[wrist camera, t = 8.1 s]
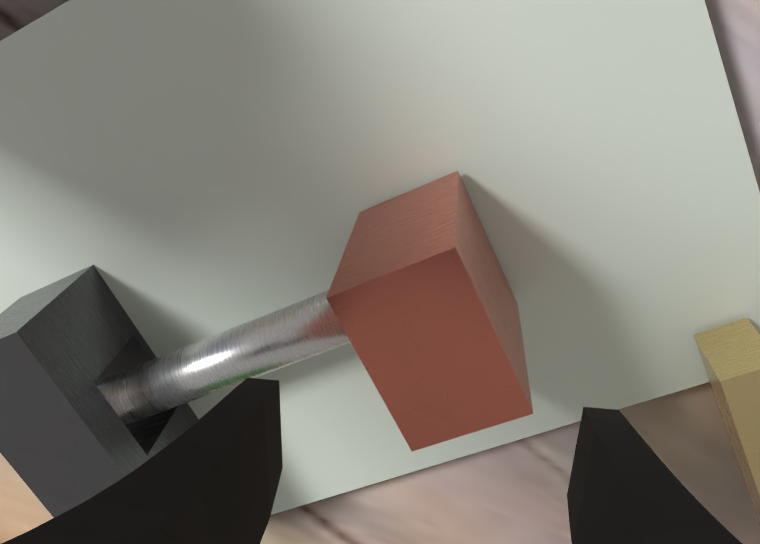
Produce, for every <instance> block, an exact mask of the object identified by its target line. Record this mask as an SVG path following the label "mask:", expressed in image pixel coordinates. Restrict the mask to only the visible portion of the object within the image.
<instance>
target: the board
mask: <svg viewBox="0 0 760 544" xmlns="http://www.w3.org/2000/svg"><path fill="white" fill-rule="evenodd" d="M456 171H458V172H459V174H460V176H461V178H462V181H463V183H464V185H465V187H466V189H467V192H468V194H469V196H470V198H471V201H472V203H473V205H474V207H475V210H476V212H477V214H478V216H479V219H480V221H481V223H482V225H483V227H484V230H485V232H486V234H487V236H488V239H489V241H490V243H491V245H492V248H493V250H494V252H495V254H496V256H497V259H498V261H499V263H500V265H501V268H502V270H503V272H504V274H505V277H506V279H507V281H508V283H509V286H510V288H511V290H512V292H513V294H514V297H515V299H516V301H517V303H518V309H519V316H520V323H521V330H522V337H523V344H524V351H525V358H526V365H527V372H528V379H529V386H530V393H531V400H532V407H533V414H531V415H528V416H524V417H521V418H518V419H515V420H512V421H508V422H505V423H502V424H499V425H496V426H492V427H489V428H486V429H483V430H480V431H476V432H473V433H470V434H467V435H464V436H460V437H457V438H454V439H451V440H448V441H444V442H441V443H438V444H435V445H432V446H428V447H425V448H422V449H419V450H416V451H411V449H410V448H409V446H408V444H407V442H406V440H405V439H404V437H403V435H402V433H401V431H400V430H399V428H398V426H397V424H396V422H395V421H394V419H393V417H392V415H391V413H390V412H389V410H388V408H387V406H386V404H385V403H384V401H383V399H382V397H381V396H380V394H379V392H378V390H377V388H376V387H375V385H374V383H373V381H372V379H371V378H370V376H369V374H368V372H367V370H366V369H365V367H364V365H363V363H362V361H361V360H360V358H359V356H358V354H357V352H356V351H355V349H354V347H353V345H352V343H351V342H350V343H348V344H345V345H342V346H339V347H337V348H334V349H331V350H329V351H326V352H323V353H320V354H318V355H315V356H312V357H310V358H307V359H304V360H301V361H299V362H296V363H293V364H291V365H288V366H285V367H282V368H280V369H277V370H274V371H272V372H269V373H266V374H263V375H261V376H258V377H255V378H257V379H268V380H279V387H280V413H281V438H282V464H283V468H282V472H281V476H280V480H279V484H278V488H277V493H276V496H275V500H274V504H273V508H272V512H271V515H272V514H276V513H279V512H282V511H286V510H289V509H292V508H296V507H299V506H302V505H305V504H309V503H312V502H315V501H319V500H322V499H325V498H329V497H332V496H335V495H338V494H342V493H345V492H348V491H352V490H355V489H358V488H361V487H365V486H368V485H371V484H375V483H378V482H381V481H385V480H388V479H391V478H394V477H398V476H401V475H404V474H408V473H411V472H414V471H418V470H421V469H424V468H427V467H431V466H434V465H437V464H441V463H444V462H447V461H450V460H454V459H457V458H460V457H464V456H467V455H470V454H474V453H477V452H480V451H483V450H487V449H490V448H493V447H497V446H500V445H503V444H506V443H510V442H513V441H516V440H520V439H523V438H526V437H530V436H533V435H536V434H539V433H543V432H546V431H549V430H553V429H556V428H559V427H563V426H566V425H569V424H572V423H576V422H579V421H581V417H582V412H583V407H592V408H603V409H615V410H619V409H622V408H625V407H628V406H632V405H635V404H638V403H642V402H645V401H648V400H652V399H655V398H658V397H661V396H665V395H668V394H671V393H675V392H678V391H681V390H684V389H688V388H691V387H694V386H698V385H701V384H704V383H708V382H710V381H709V378H708V375H707V372H706V369H705V366H704V364H703V361H702V358H701V355H700V352H699V349H698V347H697V344H696V341H695V338H694V335H695V334H698V333H701V332H704V331H707V330H710V329H713V328H716V327H719V326H722V325H726V324H729V323H732V322H735V321H738V320H741V319H744V318H748V320H749V321H750V322H751V324H752V325H753V326H754V328H755V329H756V330H757V332H758V333H759V334H760V191H759V188H758V185H757V181H756V178H755V174H754V171H753V167H752V164H751V160H750V157H749V153H748V150H747V146H746V143H745V139H744V136H743V132H742V129H741V125H740V122H739V118H738V115H737V111H736V108H735V105H734V101H733V98H732V94H731V91H730V87H729V84H728V80H727V77H726V73H725V70H724V66H723V63H722V59H721V56H720V52H719V49H718V45H717V42H716V38H715V35H714V31H713V28H712V25H711V21H710V18H709V14H708V11H707V7H706V4H705V0H69V1H67V2H65V3H64V4H62V5H60V6H59V7H57V8H55V9H53V10H52V11H50V12H48V13H47V14H45V15H43V16H42V17H40V18H38V19H37V20H35V21H33V22H31V23H30V24H28V25H26V26H25V27H23V28H21V29H20V30H18V31H16V32H15V33H13V34H11V35H9V36H8V37H6V38H4V39H3V40H1V41H0V314H1V313H2V312H3V311H4V310H6V309H7V308H8V307H9V306H10V305H12V304H13V303H14V302H15V301H17V300H18V299H19V298H21V297H23V296H25V295H27V294H29V293H32V292H34V291H36V290H38V289H40V288H43V287H45V286H47V285H49V284H51V283H54V282H56V281H58V280H60V279H62V278H65V277H67V276H69V275H71V274H73V273H76V272H78V271H80V270H82V269H85V268H87V267H89V266H91V265H94V266H95V268H96V269H97V271H98V272H99V273H100V275H101V276H102V278H103V279H104V281H105V282H106V284H107V285H108V287H109V288H110V290H111V291H112V293H113V294H114V296H115V297H116V298H117V300H118V301H119V303H120V304H121V306H122V307H123V309H124V310H125V312H126V313H127V315H128V316H129V318H130V319H131V321H132V322H133V323H134V325H135V326H136V328H137V329H138V331H139V332H140V334H141V335H142V337H143V338H144V340H145V341H146V343H147V344H148V346H149V347H150V348H151V350H152V351H153V353H154V354H155V356H156V357H157V358H158V357H160V356H163V355H165V354H168V353H170V352H173V351H175V350H178V349H180V348H183V347H185V346H188V345H190V344H193V343H196V342H198V341H201V340H203V339H206V338H208V337H211V336H213V335H216V334H218V333H221V332H223V331H226V330H228V329H231V328H234V327H236V326H239V325H241V324H244V323H246V322H249V321H251V320H254V319H256V318H259V317H261V316H264V315H266V314H269V313H271V312H274V311H277V310H279V309H282V308H284V307H287V306H289V305H292V304H294V303H297V302H299V301H302V300H304V299H307V298H309V297H312V296H315V295H317V294H320V293H322V292H325V291H327V290H329V289H330V287H331V284H332V281H333V279H334V276H335V274H336V271H337V269H338V266H339V263H340V261H341V258H342V256H343V253H344V251H345V248H346V245H347V243H348V240H349V238H350V235H351V233H352V230H353V228H354V225H355V222H356V220H357V217H358V215H359V212H361V211H364V210H366V209H368V208H371V207H373V206H375V205H378V204H380V203H382V202H385V201H387V200H389V199H392V198H394V197H397V196H399V195H401V194H404V193H406V192H408V191H411V190H413V189H415V188H418V187H420V186H423V185H425V184H427V183H430V182H432V181H434V180H437V179H439V178H441V177H444V176H446V175H449V174H451V173H453V172H456ZM239 384H240V383H239ZM239 384H236V385H234V386H231V387H228V388H225V389H223V390H220V391H217V392H215V393H212V394H209V395H206V396H204V397H201V398H198V399H196V400H193V401H190V402H187V403H188V404H189V406H190V407H191V409H192V410H193V412H194V413H195V415H196V416H197V418H198V419H200V418H201V417H203V416H204V415H205V414H206V413H207V412H208V411H209V410H211V409H212V408H213V407H214V406H215V405H216V404H217V403H219V402H220V401H221V400H222V399H223V398H224V397H225V396H226V395H228V394H229V393H230V392H231V391H232V390H233V389H234V388H236V387H237V386H238V385H239Z"/></svg>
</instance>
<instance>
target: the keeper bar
mask: <svg viewBox="0 0 760 544" xmlns="http://www.w3.org/2000/svg"><path fill="white" fill-rule="evenodd" d="M694 338H695V341H696V344H697V347H698V349H699V352H700V355H701V358H702V361H703V364H704V366H705V369H706V372H707V375H708V378H709V381H710V384H711V386H712V389H713V392H714V395H715V398H716V401H717V403H718V406H719V409H720V412H721V415H722V418H723V421H724V423H725V426H726V429H727V432H728V435H729V438H730V441H731V443H732V446H733V449H734V452H735V455H736V458H737V460H738V463H739V466H740V469H741V472H742V475H743V478H744V480H745V483H746V486H747V489H748V492H749V495H750V497H751V500H752V503H753V506H754V509H755V512H756V515H757V517H758V520H759V523H760V334H759V333H758V332H757V330H756V329H755V328H754V326H753V325H752V324H751V322H750V321H749V320H748V318H744V319H741V320H738V321H735V322H732V323H729V324H726V325H722V326H719V327H716V328H713V329H710V330H707V331H704V332H701V333H698V334H695V335H694Z"/></svg>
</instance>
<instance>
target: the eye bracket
mask: <svg viewBox="0 0 760 544" xmlns="http://www.w3.org/2000/svg"><path fill="white" fill-rule="evenodd" d="M155 358H157V357H156V356H155V354H154V353H153V351H152V350H151V348H150V347H149V346H148V344H147V343H146V341H145V340H144V338H143V337H142V335H141V334H140V332H139V331H138V329H137V328H136V326H135V325H134V323H133V322H132V321H131V319H130V318H129V316H128V315H127V313H126V312H125V310H124V309H123V307H122V306H121V304H120V303H119V301H118V300H117V298H116V297H115V296H114V294H113V293H112V291H111V290H110V288H109V287H108V285H107V284H106V282H105V281H104V279H103V278H102V276H101V275H100V273H99V272H98V271H97V269H96V268H95V266H94V265H91V266H89V267H87V268H85V269H82V270H80V271H78V272H76V273H73V274H71V275H69V276H67V277H65V278H62V279H60V280H58V281H56V282H54V283H51V284H49V285H47V286H45V287H43V288H40V289H38V290H36V291H34V292H32V293H29V294H27V295H25V296H23V297H21V298H19V299H18V300H17V301H15V302H14V303H13V304H12V305H10V306H9V307H8V308H7V309H6V310H4V311H3V312H2V313H1V314H0V453H1V454H2V455H3V456H4V457H5V459H6V460H7V461H8V462H9V464H10V465H11V466H12V467H13V468H14V470H15V471H16V472H17V473H18V474H19V476H20V477H21V478H22V479H23V481H24V482H25V483H26V484H27V485H28V487H29V488H30V489H31V490H32V492H33V493H34V494H35V495H36V496H37V498H38V499H39V500H40V501H41V502H42V504H43V505H44V506H45V507H46V509H47V510H48V511H49V512H50V513H51V515H52V516H53V517H54V518H55V517H57V516H59V515H61V514H62V513H64V512H66V511H68V510H70V509H72V508H74V507H76V506H78V505H79V504H81V503H83V502H85V501H86V500H88V499H90V498H92V497H93V496H95V495H96V494H98V493H100V492H101V491H103V490H105V489H106V488H108V487H109V486H111V485H113V484H114V483H116V482H117V481H119V480H120V479H122V478H123V477H125V476H126V475H128V474H129V473H131V472H132V471H134V470H135V469H137V468H138V467H140V466H141V465H142V464H144V463H145V462H146V461H148V460H149V459H150V458H151V457H153V456H154V455H155V454H157V453H158V452H159V451H161V450H162V449H163V448H165V447H166V446H167V445H169V444H170V443H171V442H173V441H174V440H175V439H176V438H177V437H179V436H180V435H181V434H182V433H183V432H185V431H186V430H187V429H188V428H189V427H191V426H192V425H193V424H194V423H195V422H197V421H198V420H199V419H198V418H197V416H196V415H195V413H194V412H193V410H192V409H191V407H190V406H189V404H188V403H185V404H182V405H179V406H177V407H174V408H171V409H168V410H166V411H163V412H160V413H158V414H155V415H152V416H149V417H147V418H144V419H141V420H139V421H136V422H133V423H130V424H128V425H125V424H124V423H123V422H122V420H121V419H120V417H119V416H118V415H117V413H116V412H115V411H114V409H113V408H112V406H111V405H110V404H109V402H108V401H107V400H106V398H105V397H104V395H103V394H102V393H101V391H100V390H99V389H98V387H97V386H96V384H95V383H94V382H97V381H99V380H102V379H104V378H107V377H109V376H112V375H115V374H117V373H120V372H122V371H125V370H127V369H130V368H132V367H135V366H137V365H140V364H142V363H145V362H147V361H150V360H153V359H155Z"/></svg>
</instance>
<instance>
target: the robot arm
mask: <svg viewBox="0 0 760 544" xmlns="http://www.w3.org/2000/svg"><path fill="white" fill-rule="evenodd" d="M282 468H283V464H282V438H281V413H280V387H279V380H268V379H257V378H246V379H245V380H244V381H243V382H242V383H240V384H239V385H238V386H237V387H236V388H234V389H233V390H232V391H231V392H230V393H229V394H228V395H226V396H225V397H224V398H223V399H222V400H221V401H220V402H219V403H217V404H216V405H215V406H214V407H213V408H212V409H211V410H209V411H208V412H207V413H206V414H205V415H204V416H203V417H201V418H200V419H199V420H198V421H197V422H195V423H194V424H193V425H192V426H191V427H189V428H188V429H187V430H186V431H185V432H183V433H182V434H181V435H180V436H179V437H177V438H176V439H175V440H174V441H173V442H171V443H170V444H169V445H167V446H166V447H165V448H163V449H162V450H161V451H159V452H158V453H157V454H155V455H154V456H153V457H151V458H150V459H149V460H148V461H146V462H145V463H144V464H142V465H141V466H140V467H138V468H137V469H135V470H134V471H132V472H131V473H129V474H128V475H126V476H125V477H123V478H122V479H120V480H119V481H117V482H116V483H114V484H113V485H111V486H109V487H108V488H106V489H105V490H103V491H101V492H100V493H98V494H96V495H95V496H93V497H92V498H90V499H88V500H86V501H85V502H83V503H81V504H79V505H78V506H76V507H74V508H72V509H70V510H68V511H66V512H64V513H62V514H61V515H59V516H57V517H55V518H53V519H51V520H49V521H47V522H45V523H44V524H42V525H40V526H38V527H36V528H34V529H32V530H30V531H28V532H26V533H24V534H22V535H19V536H17V537H15V538H13V539H11V540H9V541H6V542H4V543H2V544H260V542H261V539H262V537H263V534H264V531H265V529H266V526H267V524H268V521H269V518H270V515H271V512H272V508H273V504H274V500H275V496H276V493H277V488H278V484H279V480H280V476H281V472H282ZM567 499H568V510H569V521H570V530H571V540H572V544H742V543H741V542H740V541H739V540H737V539H736V538H735V537H734V536H733V535H732V534H731V533H730V532H729V531H728V530H727V529H726V528H725V527H724V526H723V525H722V524H721V523H720V522H718V521H717V520H716V519H715V518H714V517H713V516H712V515H711V514H710V513H709V512H708V511H707V510H706V509H705V508H704V507H703V506H702V505H701V504H700V503H699V502H698V501H697V500H696V499H695V497H694V496H693V495H692V494H691V493H690V492H689V491H688V490H687V489H686V488H685V487H684V486H683V485H682V484H681V482H680V481H679V480H678V479H677V478H676V477H675V476H674V475H673V474H672V473H671V471H670V470H669V469H668V468H667V467H666V466H665V465H664V463H663V462H662V461H661V460H660V459H659V458H658V456H657V455H656V454H655V453H654V452H653V451H652V449H651V448H650V447H649V446H648V445H647V443H646V442H645V441H644V440H643V439H642V437H641V436H640V435H639V434H638V433H637V431H636V430H635V429H634V428H633V427H632V425H631V424H630V423H629V422H628V421H627V419H626V418H625V417H624V416H623V415H622V414H621V412H620V411H619V410H615V409H603V408H592V407H583V412H582V417H581V422H580V428H579V433H578V439H577V444H576V450H575V455H574V461H573V466H572V472H571V477H570V483H569V488H568V493H567Z"/></svg>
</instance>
